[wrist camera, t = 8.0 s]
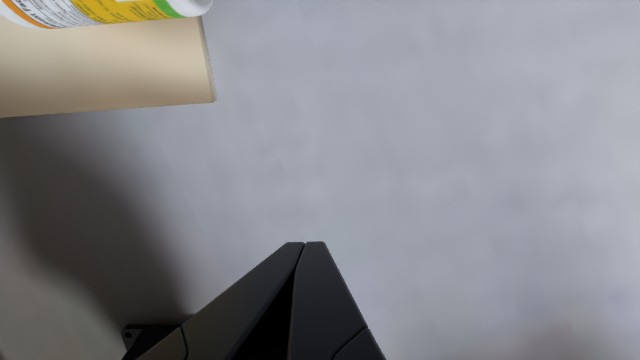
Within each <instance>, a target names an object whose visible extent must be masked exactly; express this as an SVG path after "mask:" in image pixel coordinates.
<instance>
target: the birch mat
mask: <svg viewBox="0 0 640 360" xmlns="http://www.w3.org/2000/svg"><path fill="white" fill-rule="evenodd" d="M216 100H217V98H216V92H215V87H214V82H213V77H212V71H211V66H210V61H209V55H208V50H207V45H206V40H205V34H204V29H203V24H202V18H201V15H200V16H195V17H187V18H175V19H163V20H152V21H140V22H128V23H116V24H104V25H93V26H82V27H71V28H61V29H45V30H41V29H33V28H28V27H24V26H21V25H19V24H16V23H14V22H12V21H10V20H8V19H7V18H5V17H3V16H2V15H1V16H0V118H5V117H19V116H33V115H47V114H60V113H74V112H88V111H102V110H116V109H130V108H144V107H158V106H172V105H186V104H200V103H213V102H215V101H216Z"/></svg>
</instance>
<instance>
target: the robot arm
mask: <svg viewBox="0 0 640 360" xmlns="http://www.w3.org/2000/svg"><path fill="white" fill-rule="evenodd" d="M121 335H122V338H123V341H124V344H125V346H126V349H127V352H126V354H125V355H124V356H123V358H122V359H121V360H386V358H385V356H384V355H383V353H382V351H381V349H380V348H379V346H378V344H377V343H376V341H375V339H374V337H373V335H372V333H371V331H370V329H368V326H367V324H366V322H365V320H364V318H363V316H362V314H361V312H360V310H359V308H358V306H357V304H356V302H355V300H354V299H353V297H352V295H351V293H350V291H349V289H348V287H347V285H346V283H345V281H344V279H343V277H342V275H341V273H340V271H339V269H338V268H337V266H336V264H335V262H334V260H333V258H332V256H331V254H330V252H329V250H328V248H327V246H326V244H325V243H324V242H322V241H317V242H307V243H306V244H305V243H304V242H288V243H286V244H284V245H283V246H282V247H280V248H279V249H278V250H276V251H275V252H274V253H273V254H271V255H270V256H269V257H268V258H266V259H265V260H264V261H262V262H261V263H260V264H259V265H257V266H256V267H255V268H253V269H252V270H251V271H250V272H248V273H247V274H246V275H245V276H243V277H242V278H241V279H239V280H238V281H237V282H236V283H234V284H233V285H232V286H231V287H229V288H228V289H227V290H225V291H224V292H223V293H222V294H220V295H219V296H218V297H217V298H215V299H214V300H213V301H211V302H210V303H209V304H208V305H206V306H205V307H204V308H202V309H201V310H200V311H199V312H197V313H196V314H195V315H194V316H192V317H191V318H190V319H188V320H187V321H186V322H185V323H183V324H182V325H126V326H125V327H124V329H123V330H122V332H121Z"/></svg>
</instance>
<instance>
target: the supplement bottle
mask: <svg viewBox="0 0 640 360" xmlns="http://www.w3.org/2000/svg"><path fill="white" fill-rule="evenodd" d="M212 2H213V0H0V16H1V15H2V16H3V17H5V18H7V19H8V20H10V21H12V22H14V23H16V24H19V25H21V26H24V27H28V28H33V29H41V30H45V29H61V28H71V27H82V26H93V25H104V24H116V23H128V22H140V21H152V20H163V19H175V18H187V17H195V16H200V15H203V14H204V13H206V12H207V11H208V9H209V8H210V6H211V4H212Z"/></svg>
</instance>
